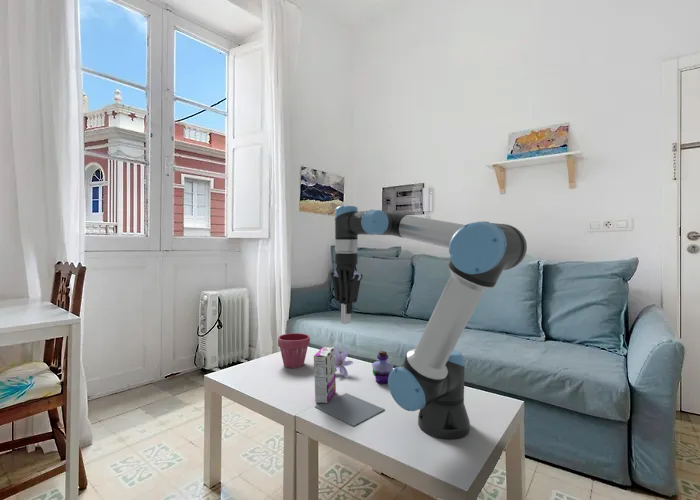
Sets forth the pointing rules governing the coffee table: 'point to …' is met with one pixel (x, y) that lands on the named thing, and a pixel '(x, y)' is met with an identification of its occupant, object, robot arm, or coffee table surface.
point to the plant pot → (293, 349)
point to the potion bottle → (382, 368)
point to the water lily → (341, 361)
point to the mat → (350, 409)
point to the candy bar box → (324, 374)
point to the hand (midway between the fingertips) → (345, 322)
